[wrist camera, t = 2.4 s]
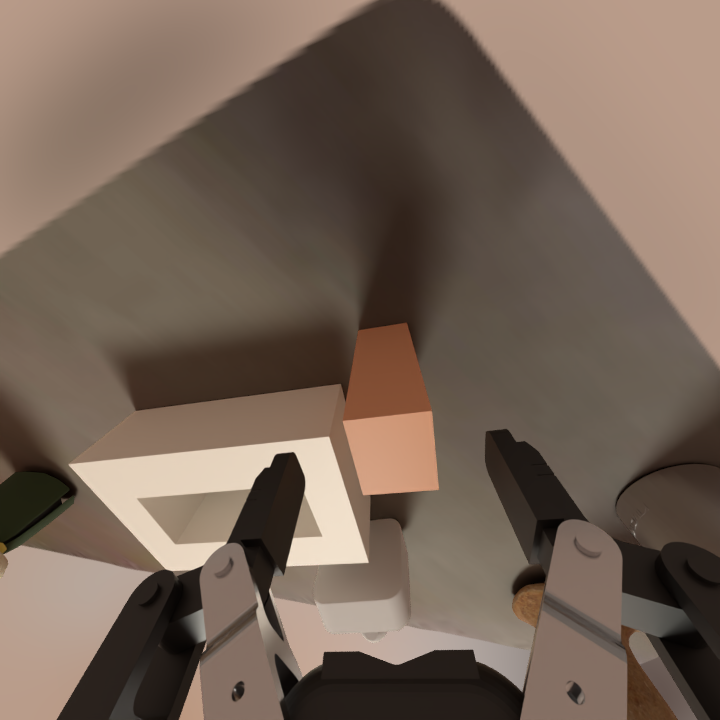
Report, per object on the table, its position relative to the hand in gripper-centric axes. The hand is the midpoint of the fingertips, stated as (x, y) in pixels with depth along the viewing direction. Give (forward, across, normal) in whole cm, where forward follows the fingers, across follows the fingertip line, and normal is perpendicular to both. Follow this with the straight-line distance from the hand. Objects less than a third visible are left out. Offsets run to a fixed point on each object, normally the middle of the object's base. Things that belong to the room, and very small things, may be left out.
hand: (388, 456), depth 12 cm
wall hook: (+10, +5, +24) cm, 27 cm away
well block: (+10, +13, +9) cm, 19 cm away
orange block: (+10, 0, 0) cm, 10 cm away
